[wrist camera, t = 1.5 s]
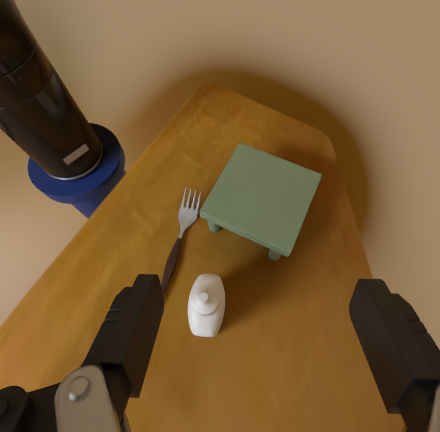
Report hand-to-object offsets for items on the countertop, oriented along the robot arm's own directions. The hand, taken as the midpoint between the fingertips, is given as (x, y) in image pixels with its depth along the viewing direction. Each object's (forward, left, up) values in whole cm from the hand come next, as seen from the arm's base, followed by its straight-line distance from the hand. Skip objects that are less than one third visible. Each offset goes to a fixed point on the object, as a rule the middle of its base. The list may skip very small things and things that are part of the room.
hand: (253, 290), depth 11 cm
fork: (-10, +5, -22) cm, 25 cm away
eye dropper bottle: (-3, 0, -22) cm, 22 cm away
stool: (-3, +14, -22) cm, 26 cm away
